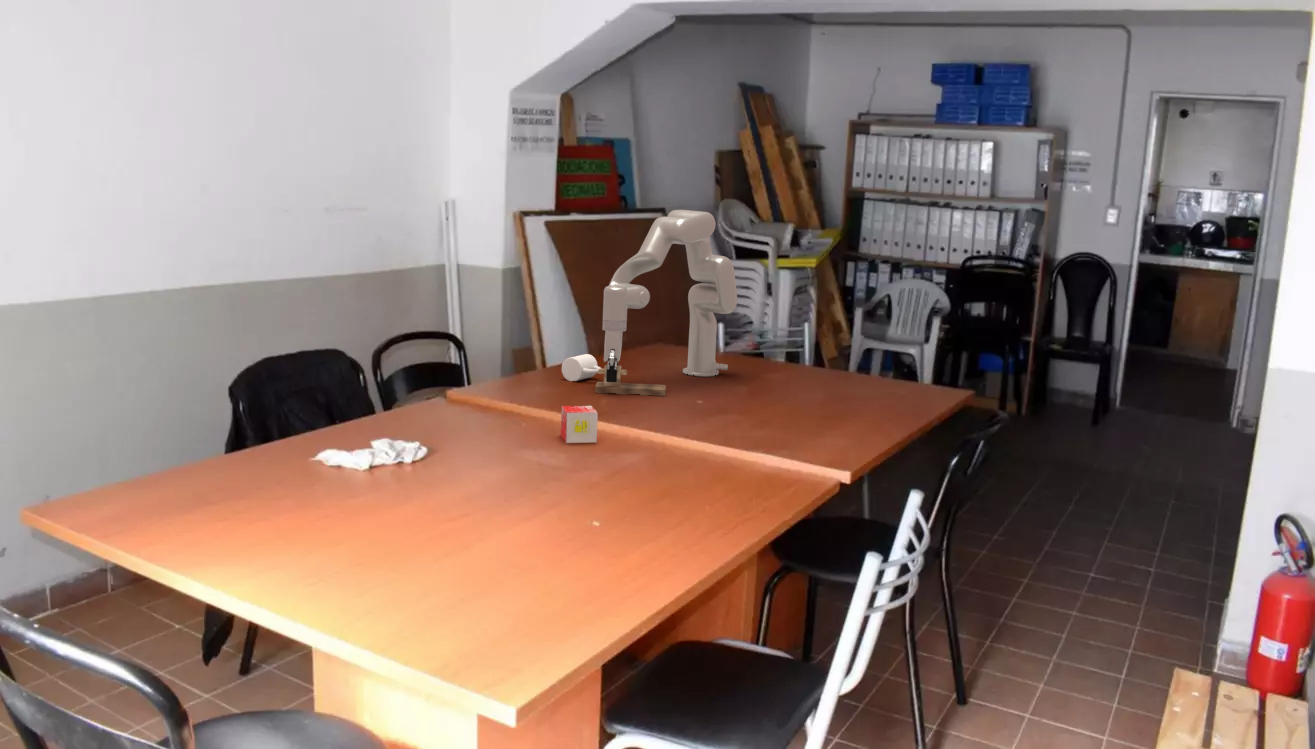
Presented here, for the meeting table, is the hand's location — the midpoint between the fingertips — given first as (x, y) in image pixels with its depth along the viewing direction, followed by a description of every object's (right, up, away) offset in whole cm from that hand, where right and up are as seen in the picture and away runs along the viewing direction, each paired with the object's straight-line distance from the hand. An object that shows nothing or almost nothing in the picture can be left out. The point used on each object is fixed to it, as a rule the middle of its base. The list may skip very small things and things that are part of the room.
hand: (612, 379), depth 342 cm
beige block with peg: (0, -2, 0) cm, 2 cm away
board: (+6, -4, +1) cm, 7 cm away
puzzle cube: (-6, -16, -61) cm, 63 cm away
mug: (-10, -1, +17) cm, 19 cm away
